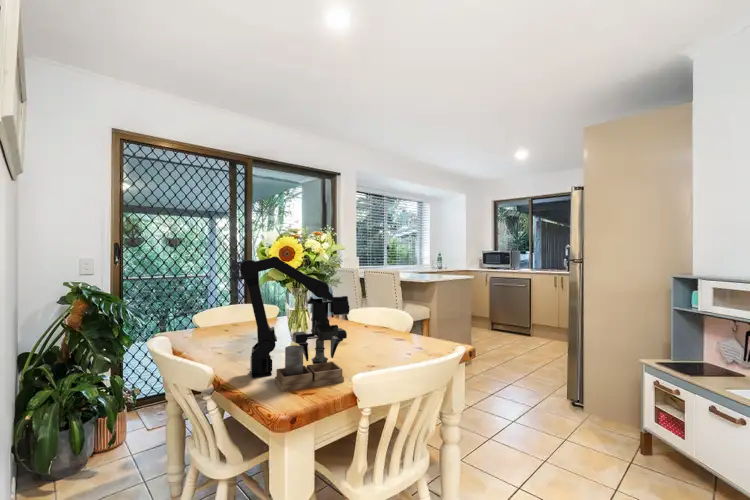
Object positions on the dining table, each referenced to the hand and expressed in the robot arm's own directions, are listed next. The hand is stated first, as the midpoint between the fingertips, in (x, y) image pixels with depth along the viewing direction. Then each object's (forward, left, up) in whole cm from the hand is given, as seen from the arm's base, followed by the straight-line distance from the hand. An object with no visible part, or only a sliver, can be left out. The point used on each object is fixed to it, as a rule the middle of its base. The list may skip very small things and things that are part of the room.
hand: (319, 359), depth 135 cm
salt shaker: (0, 0, -4) cm, 4 cm away
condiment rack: (-7, -11, -3) cm, 13 cm away
